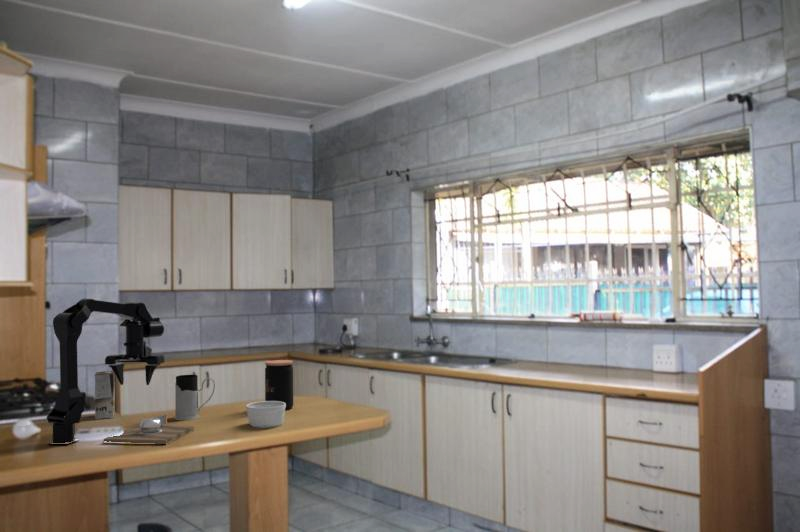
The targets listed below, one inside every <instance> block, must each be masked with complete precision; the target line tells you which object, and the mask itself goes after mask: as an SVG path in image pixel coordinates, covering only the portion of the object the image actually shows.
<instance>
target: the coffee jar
mask: <svg viewBox="0 0 800 532" xmlns="http://www.w3.org/2000/svg"><path fill="white" fill-rule="evenodd" d="M293 364H294V360H291V359H275V360H267V361H265V362H264V365H265V368H264V374H265V375H264V387H265V389H264V399H265V400H264V401H280V402H284V403H286V408H285V411H289V410H291V409H293V407H294V367H293Z"/></svg>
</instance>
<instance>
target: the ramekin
mask: <svg viewBox="0 0 800 532" xmlns="http://www.w3.org/2000/svg"><path fill="white" fill-rule="evenodd" d="M245 408H246V411H247V419H248V423H249V425H250V426H251V427H253V428H261V429H266V428H275V427H276V428H277V427H279V426H281V425H282V424H283V423H284V420H285V413H286V410H285V408H286V403H284V402H280V401H265V400H262V401H254V402H250V403H248V404H246V407H245Z"/></svg>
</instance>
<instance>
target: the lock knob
mask: <svg viewBox="0 0 800 532" xmlns="http://www.w3.org/2000/svg"><path fill="white" fill-rule="evenodd" d="M166 424H168V414H166V413H161V414H159V415H156V416H155V417H150V418H143V419H140V424H139V425H140V432H143V433H151V432H157V431H160V430H161V426H162V425H166Z"/></svg>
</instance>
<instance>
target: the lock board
mask: <svg viewBox="0 0 800 532" xmlns="http://www.w3.org/2000/svg"><path fill="white" fill-rule="evenodd" d="M192 430H194V431H195V425H174V424H173V425H171V424H170V425H169V424H168V425H166V424H164V425H162V426H161V430H160V431H157V432H151V433H143V432H140V424H136V425H133V426H131V427H129V428H126V429H124V430H123V431H124V433H123V434H122V435H120V436H113V437H109V436H107V437H105V438H103V442H104V441H107V442H109V441H111V442H131V443H155V444H166V443H168V442H170V441H173V440H175V439H177V438H179V437H181V436H182V437H184V436H186V435H188V434H190V433H191V432H190V431H192ZM189 432H190V433H189ZM192 432H193V431H192ZM187 433H188V434H187ZM185 434H186V435H185ZM183 435H184V436H183ZM182 437H181V438H182ZM179 439H180V438H179ZM177 440H178V439H177ZM175 441H176V440H175ZM173 442H174V441H173Z"/></svg>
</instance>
